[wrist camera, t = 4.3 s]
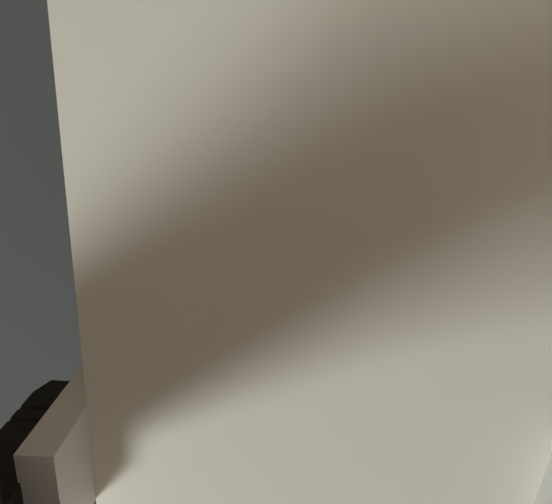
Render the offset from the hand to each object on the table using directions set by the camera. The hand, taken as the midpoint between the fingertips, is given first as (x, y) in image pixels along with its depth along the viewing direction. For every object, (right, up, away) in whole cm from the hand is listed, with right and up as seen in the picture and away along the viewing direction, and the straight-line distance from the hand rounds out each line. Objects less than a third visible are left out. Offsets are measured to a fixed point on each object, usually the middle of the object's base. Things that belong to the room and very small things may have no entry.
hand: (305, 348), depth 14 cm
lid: (0, -1, -2) cm, 2 cm away
